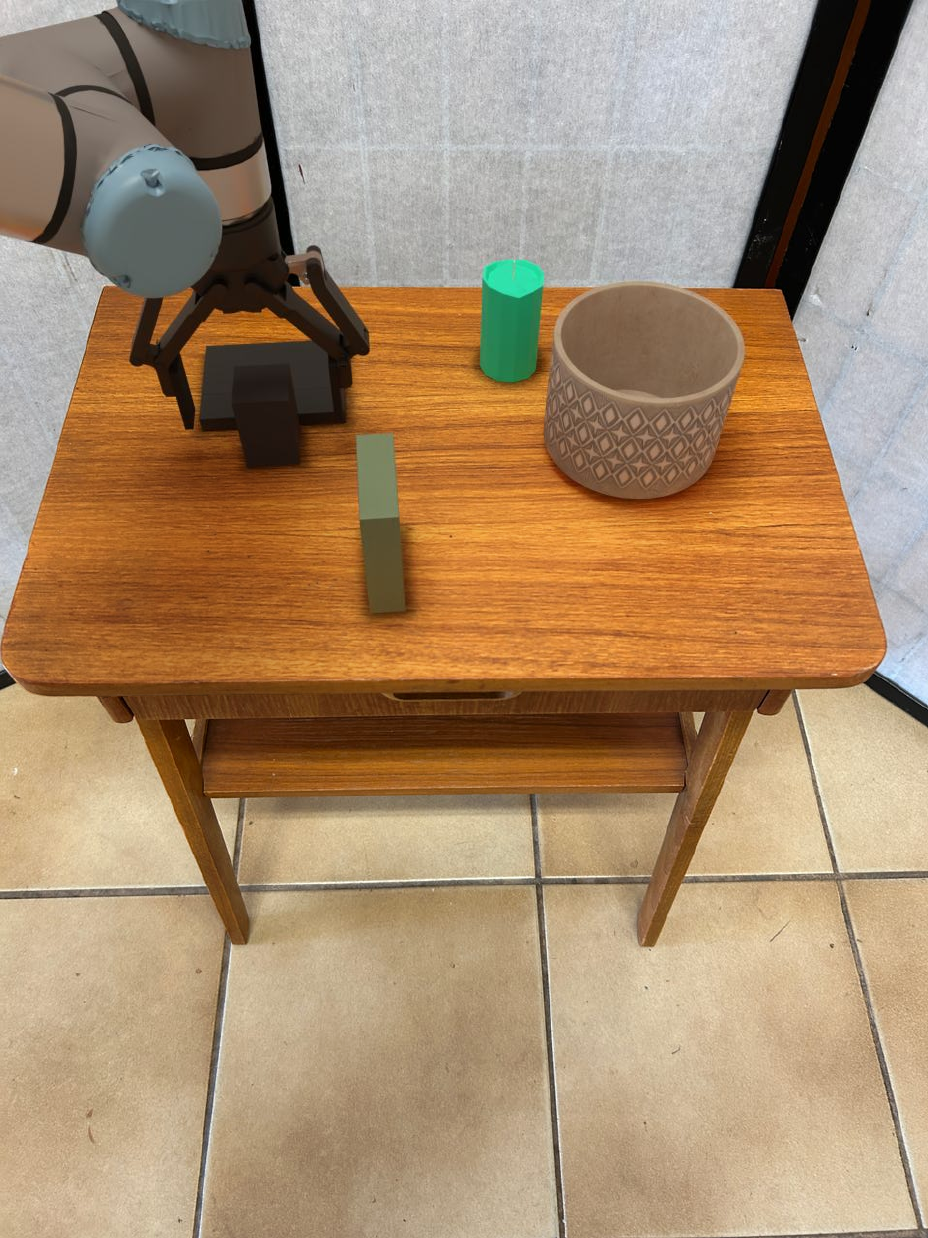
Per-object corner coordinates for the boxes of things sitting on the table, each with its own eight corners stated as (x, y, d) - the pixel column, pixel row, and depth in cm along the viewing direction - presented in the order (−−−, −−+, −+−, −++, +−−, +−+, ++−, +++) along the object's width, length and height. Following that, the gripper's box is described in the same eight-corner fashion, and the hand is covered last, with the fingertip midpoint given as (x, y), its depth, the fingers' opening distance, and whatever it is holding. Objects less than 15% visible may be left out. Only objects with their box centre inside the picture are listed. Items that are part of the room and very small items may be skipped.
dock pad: (202, 430, 93) (198, 419, 92) (209, 357, 99) (206, 345, 98) (346, 422, 94) (344, 410, 92) (343, 350, 100) (342, 338, 99)
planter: (561, 517, 87) (576, 411, 76) (527, 396, 96) (537, 288, 86) (734, 499, 88) (772, 393, 78) (684, 381, 98) (712, 273, 87)
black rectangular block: (247, 468, 90) (231, 403, 83) (250, 410, 95) (235, 344, 88) (300, 464, 90) (288, 400, 84) (300, 407, 95) (289, 341, 88)
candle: (470, 373, 98) (472, 271, 88) (491, 339, 101) (496, 236, 92) (525, 388, 97) (533, 286, 87) (544, 353, 100) (555, 251, 90)
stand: (370, 614, 80) (359, 519, 70) (366, 533, 85) (355, 434, 76) (405, 611, 80) (399, 516, 71) (399, 531, 86) (393, 432, 76)
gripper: (387, 166, 74) (397, 382, 91) (57, 177, 72) (132, 395, 89) (391, 221, 69) (402, 436, 87) (41, 234, 68) (122, 451, 85)
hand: (265, 416), depth 88 cm, fingers open, 13 cm apart
